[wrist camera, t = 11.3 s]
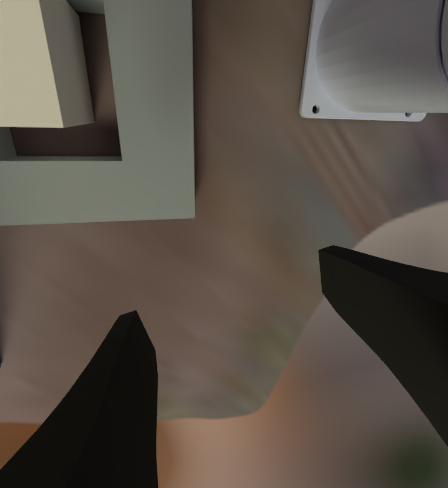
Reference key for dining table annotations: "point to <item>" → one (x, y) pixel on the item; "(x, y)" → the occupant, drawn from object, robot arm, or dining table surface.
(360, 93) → the robot arm
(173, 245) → the dining table surface
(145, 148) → the notched board
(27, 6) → the tab block
